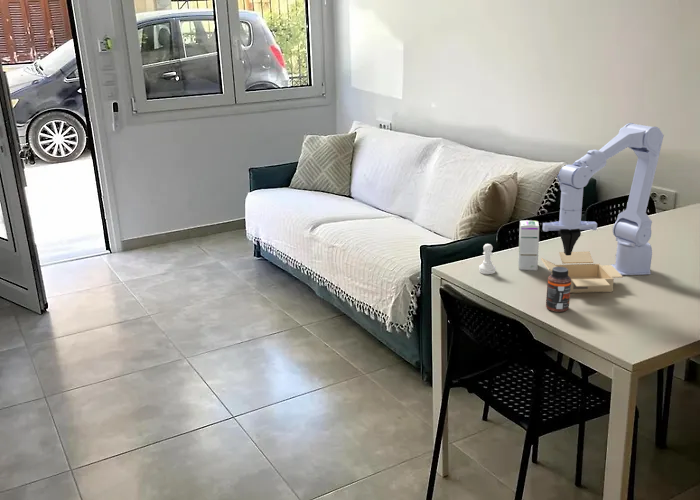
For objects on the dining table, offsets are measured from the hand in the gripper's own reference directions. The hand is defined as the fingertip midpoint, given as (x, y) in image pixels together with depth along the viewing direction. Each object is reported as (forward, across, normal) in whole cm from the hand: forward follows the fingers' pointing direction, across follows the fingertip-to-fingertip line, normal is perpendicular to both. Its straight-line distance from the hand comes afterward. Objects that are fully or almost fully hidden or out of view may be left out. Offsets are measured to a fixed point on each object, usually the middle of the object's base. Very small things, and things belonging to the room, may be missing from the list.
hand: (567, 254), depth 187 cm
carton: (+10, -6, +1) cm, 12 cm away
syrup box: (+10, +8, -16) cm, 20 cm away
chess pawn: (+10, +20, -13) cm, 26 cm away
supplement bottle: (+10, +6, +15) cm, 19 cm away
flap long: (+5, +2, -1) cm, 6 cm away
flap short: (+5, -5, -6) cm, 10 cm away
